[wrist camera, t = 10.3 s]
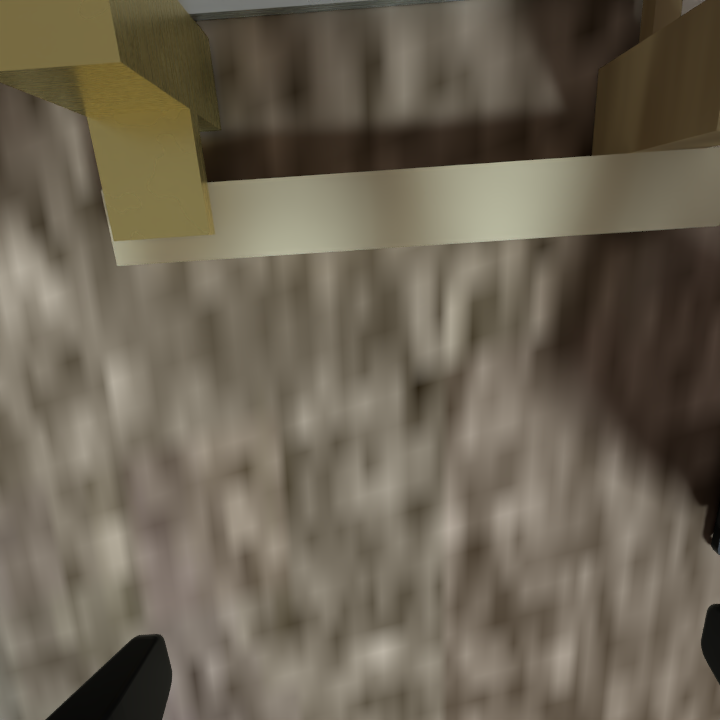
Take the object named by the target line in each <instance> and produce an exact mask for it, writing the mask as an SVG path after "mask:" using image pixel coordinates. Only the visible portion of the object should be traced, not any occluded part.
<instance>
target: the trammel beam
mask: <svg viewBox="0 0 720 720" xmlns="http://www.w3.org/2000/svg"><path fill="white" fill-rule="evenodd" d="M682 1H683V0H643V8H642V18H641V28H640V38H639V44H637V45H636V46H634V47H633V48H631V49H629V50H628V51H626V52H625V53H623V54H622V55H620V56H619V57H617V58H615V59H614V60H612V61H611V62H609V63H608V64H606V65H605V66H603V67H601V68H600V69H599V71H598V84H597V96H596V109H595V122H594V134H593V147H592V156H583V157H569V158H554V159H540V160H525V161H511V162H496V163H482V164H467V165H453V166H439V167H424V168H410V169H395V170H381V171H366V172H352V173H337V174H323V175H309V176H294V177H280V178H265V179H251V180H236V181H222V182H207V184H208V190H209V197H210V203H211V210H212V216H213V223H214V229H215V235H201V236H186V237H171V238H157V239H142V240H127V241H114V240H113V236H112V231H111V227H110V222H109V217H108V213H107V208H106V204H105V199H104V194H103V190H101V194H102V198H103V203H104V207H105V212H106V217H107V221H108V226H109V230H110V235H111V239H112V244H113V249H114V253H115V258H116V262H117V266H125V265H140V264H155V263H170V262H185V261H200V260H215V259H230V258H245V257H260V256H275V255H290V254H305V253H320V252H335V251H350V250H365V249H380V248H395V247H411V246H426V245H441V244H456V243H471V242H486V241H501V240H516V239H531V238H546V237H561V236H576V235H591V234H606V233H621V232H636V231H651V230H666V229H682V228H697V227H712V226H719V223H720V147H713V146H718V145H720V0H706V1H704V2H703V3H701V4H700V5H698V6H696V7H695V8H693V9H692V10H690V11H689V12H687V13H686V14H684V15H682V16H681V9H682ZM708 147H713V148H708Z"/></svg>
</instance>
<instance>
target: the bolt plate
mask: <svg viewBox="0 0 720 720" xmlns="http://www.w3.org/2000/svg"><path fill="white" fill-rule="evenodd" d="M178 1H179V3H180V4H181V5H182V6H183V8H184V9H185V10H186V11H187V12H188V14H189V15H190V16H191V17H192V19H193V20H194V21H197V20H210V19H224V18H237V17H250V16H264V15H277V14H290V13H304V12H317V11H330V10H344V9H357V8H370V7H383V6H397V5H410V4H423V3H437V2H450V1H463V0H178Z"/></svg>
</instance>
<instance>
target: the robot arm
mask: <svg viewBox="0 0 720 720" xmlns="http://www.w3.org/2000/svg"><path fill="white" fill-rule="evenodd" d="M711 546H712V548H713V550H714V551H715V552H716V553H717V554H719V555H720V502H719V507H718V512H717V518H716V523H715V528H714V533H713V538H712V543H711ZM701 648H702V652H703V655H704V657H705V659H706V661H707V663H708V665H709V667H710V668H711V670H712V672H713V674H714V675H715V677H716V679H717V681H718V683H719V684H720V604H713V605H711V606H710V607H709V608H708V610H707V614H706V618H705V623H704V628H703V633H702V638H701ZM171 682H172V669H171V664H170V660H169V656H168V652H167V648H166V644H165V641H164V638H163V637H162V636H161V635H159V634H150V635H138V636H136V637H134V638H133V639H132V640H130V641H129V642H128V643H127V644H126V645H125V646H124V647H123V648H122V649H121V650H120V651H119V652H118V653H116V654H115V655H114V656H113V657H112V658H111V659H110V660H109V661H108V662H107V663H106V664H105V665H104V666H103V667H101V668H100V669H99V670H98V671H97V672H96V673H95V674H94V675H93V676H92V677H91V678H90V679H89V680H87V681H86V682H85V683H84V684H83V685H82V686H81V687H80V688H79V689H78V690H77V691H76V692H75V693H74V694H72V695H71V696H70V697H69V698H68V699H67V700H66V701H65V702H64V703H63V704H62V705H61V706H60V707H58V708H57V709H56V710H55V711H54V712H53V713H52V714H51V715H50V716H49V717H48V718H47V719H46V720H162V718H163V714H164V711H165V707H166V703H167V699H168V696H169V692H170V688H171Z"/></svg>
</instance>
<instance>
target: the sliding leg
mask: <svg viewBox="0 0 720 720" xmlns="http://www.w3.org/2000/svg"><path fill="white" fill-rule="evenodd" d="M0 82H1V83H3V84H6V85H8V86H11V87H13V88H16V89H18V90H21V91H24V92H26V93H29V94H31V95H34V96H36V97H39V98H41V99H44V100H46V101H49V102H52V103H54V104H57V105H59V106H62V107H64V108H67V109H69V110H72V111H74V112H77V113H79V114H82V115H85V116H87V121H88V125H89V130H90V135H91V139H92V144H93V148H94V153H95V158H96V162H97V167H98V171H99V176H100V181H101V185H102V190H103V194H104V199H105V204H106V208H107V213H108V217H109V222H110V227H111V231H112V236H113V240H114V241H127V240H142V239H157V238H171V237H186V236H201V235H215V229H214V223H213V216H212V210H211V203H210V197H209V190H208V184H207V177H206V171H205V164H204V157H203V151H202V144H201V138H200V132H204V131H218V130H221V125H220V118H219V111H218V104H217V96H216V89H215V82H214V75H213V68H212V61H211V54H210V46H209V39H208V37H207V36H206V35H205V33H204V32H203V31H202V30H201V28H200V27H199V26H198V25H197V24H196V22H195V21H194V20H193V19H192V17H191V16H190V15H189V14H188V12H187V11H186V10H185V9H184V8H183V6H182V5H181V4H180V3H179V1H178V0H0Z"/></svg>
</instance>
